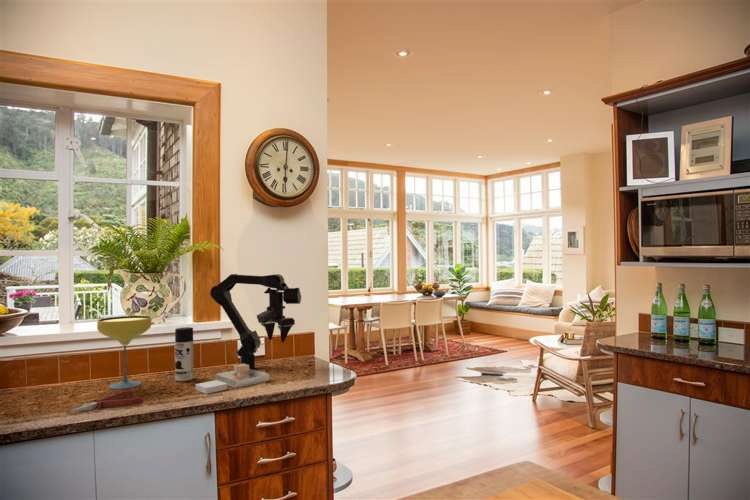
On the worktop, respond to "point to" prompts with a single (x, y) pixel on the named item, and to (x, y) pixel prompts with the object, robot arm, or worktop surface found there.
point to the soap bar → (211, 386)
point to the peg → (241, 370)
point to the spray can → (184, 354)
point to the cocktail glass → (124, 338)
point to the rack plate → (242, 378)
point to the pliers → (110, 402)
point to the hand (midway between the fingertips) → (276, 340)
